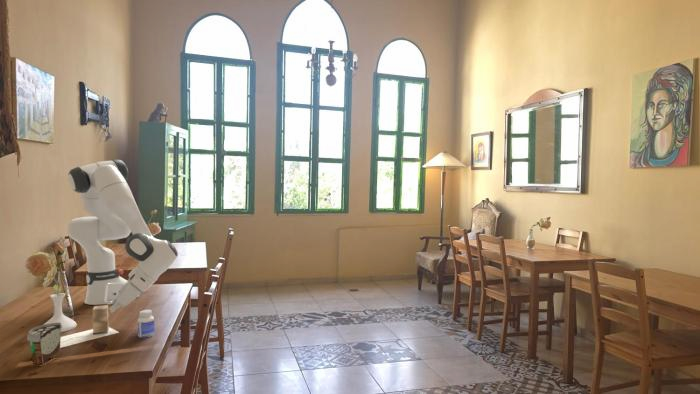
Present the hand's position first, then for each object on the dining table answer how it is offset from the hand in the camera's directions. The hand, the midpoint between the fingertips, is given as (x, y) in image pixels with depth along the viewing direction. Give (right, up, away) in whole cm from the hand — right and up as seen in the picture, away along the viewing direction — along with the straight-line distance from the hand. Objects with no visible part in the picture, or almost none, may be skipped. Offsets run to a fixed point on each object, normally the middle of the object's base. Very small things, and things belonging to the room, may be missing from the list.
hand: (112, 307), depth 164 cm
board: (-7, -10, -6) cm, 13 cm away
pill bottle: (+14, -10, -4) cm, 18 cm away
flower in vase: (-21, -10, +2) cm, 23 cm away
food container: (-10, -11, -22) cm, 27 cm away
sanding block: (-4, -9, -1) cm, 9 cm away
